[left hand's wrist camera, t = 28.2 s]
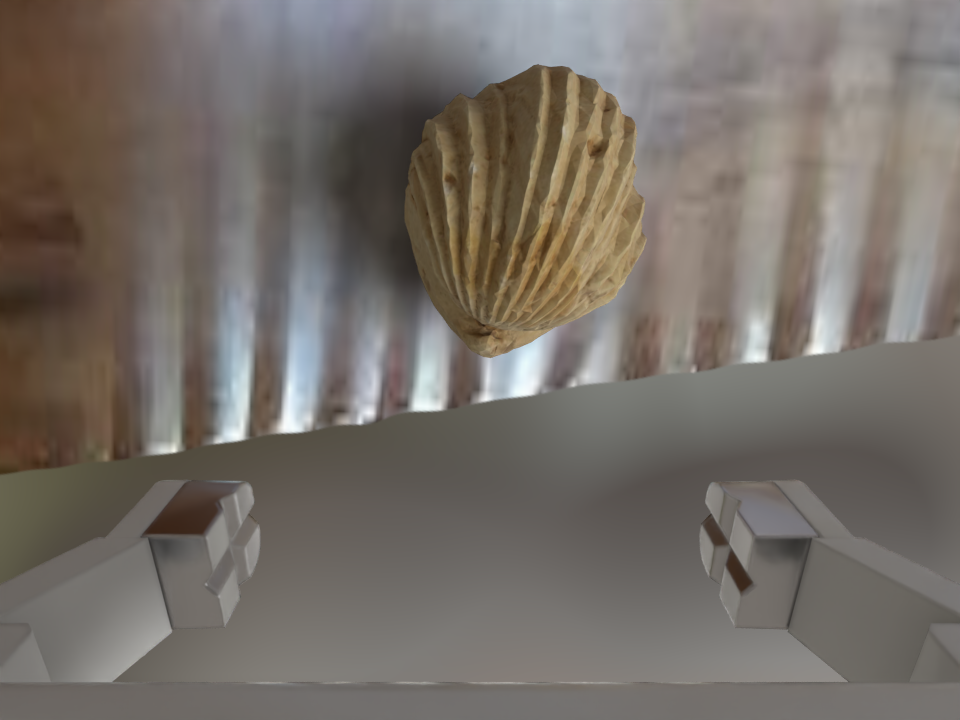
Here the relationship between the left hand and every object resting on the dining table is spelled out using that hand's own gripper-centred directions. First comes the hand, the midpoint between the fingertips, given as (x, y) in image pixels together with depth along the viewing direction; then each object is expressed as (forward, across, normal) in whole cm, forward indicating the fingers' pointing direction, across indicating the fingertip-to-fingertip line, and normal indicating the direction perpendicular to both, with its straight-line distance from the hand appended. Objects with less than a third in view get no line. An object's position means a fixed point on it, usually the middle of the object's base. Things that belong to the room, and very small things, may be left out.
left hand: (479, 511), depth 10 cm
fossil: (+34, +2, +1) cm, 34 cm away
